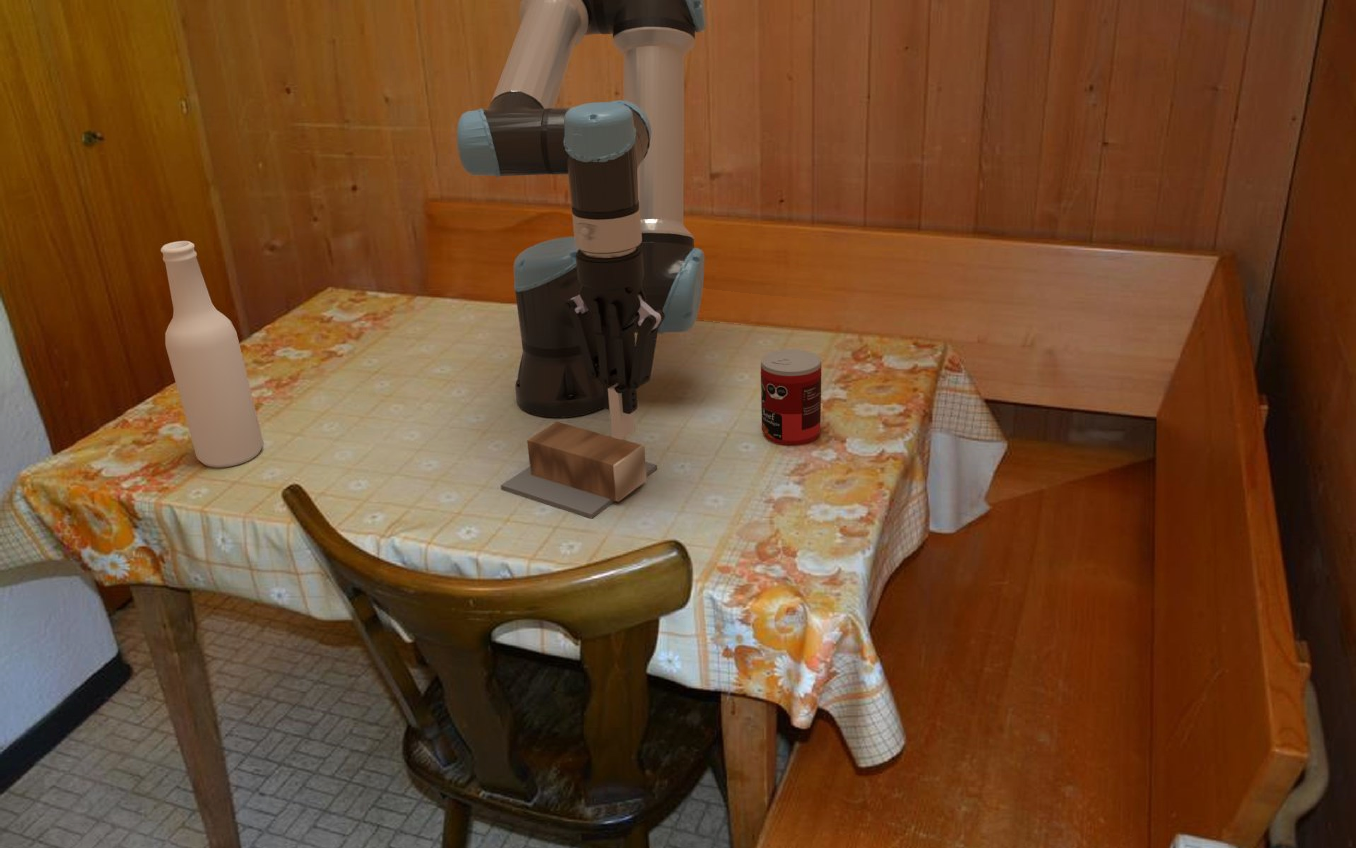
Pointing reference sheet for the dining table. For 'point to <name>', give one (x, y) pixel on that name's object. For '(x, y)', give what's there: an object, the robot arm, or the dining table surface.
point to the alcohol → (208, 367)
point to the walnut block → (587, 460)
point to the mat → (560, 493)
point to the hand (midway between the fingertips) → (623, 433)
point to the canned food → (791, 396)
